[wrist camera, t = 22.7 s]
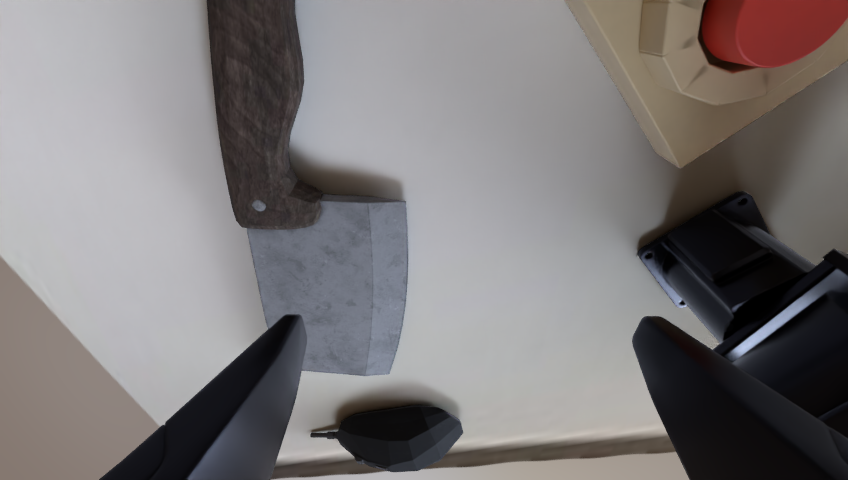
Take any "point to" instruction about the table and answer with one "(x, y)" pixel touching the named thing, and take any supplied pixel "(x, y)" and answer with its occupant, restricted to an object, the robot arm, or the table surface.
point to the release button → (770, 29)
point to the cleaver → (302, 201)
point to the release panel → (689, 73)
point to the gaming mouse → (398, 437)
